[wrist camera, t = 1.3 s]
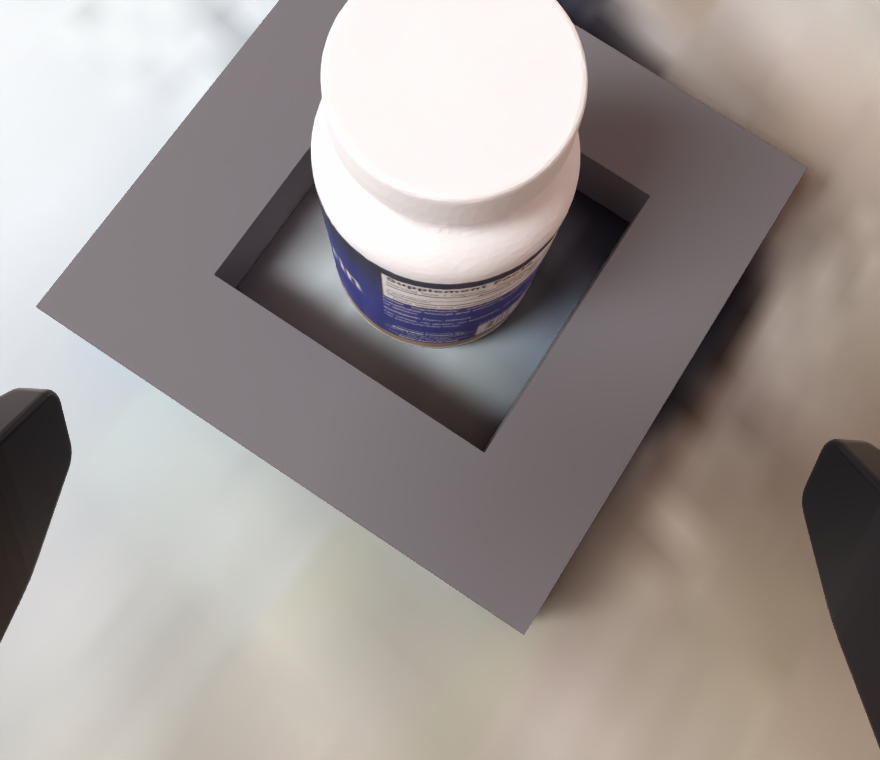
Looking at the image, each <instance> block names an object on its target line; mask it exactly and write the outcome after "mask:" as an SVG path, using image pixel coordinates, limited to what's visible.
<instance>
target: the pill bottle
mask: <svg viewBox="0 0 880 760" xmlns="http://www.w3.org/2000/svg"><path fill="white" fill-rule="evenodd" d="M587 90H588V74H587V65H586V59H585V54H584V50H583V47H582V43H581V41H580V38H579V36H578V33H577V31H576V29H575V27H574V25H573V23H572V22H571V20H570V18H569V16H568V15H567V13H566V12H565V11H564V9H563V8H562V7H561V5H560V4H559V3H558V2H557V1H556V0H348V1H347V3H346V4H345V5H344V7H343V8H342V10H341V11H340V12H339V14H338V15H337V17H336V19H335V21H334V23H333V25H332V27H331V29H330V32H329V34H328V37H327V40H326V43H325V47H324V51H323V55H322V62H321V92H322V99H321V102H320V105H319V108H318V111H317V114H316V117H315V121H314V126H313V131H312V140H311V162H312V171H313V177H314V183H315V187H316V191H317V195H318V199H319V202H320V205H321V209H322V213H323V217H324V220H325V224H326V228H327V232H328V235H329V239H330V243H331V247H332V251H333V255H334V259H335V262H336V267H337V270H338V274H339V277H340V280H341V283H342V286H343V288H344V290H345V293H346V294H347V296H348V298H349V300H350V302H351V303H352V305H353V306H354V308H355V309H356V311H357V312H358V313H359V314H360V315H361V316H362V317H363V318H364V319H365V320H366V321H367V322H368V323H369V324H370V325H372V326H373V327H374V328H376V329H377V330H378V331H380V332H382V333H383V334H385V335H387V336H388V337H390V338H392V339H395V340H397V341H400V342H402V343H406V344H409V345H413V346H418V347H423V348H447V347H454V346H459V345H463V344H466V343H469V342H472V341H474V340H477V339H479V338H481V337H483V336H485V335H487V334H488V333H490V332H492V331H493V330H494V329H496V328H497V327H498V326H499V325H501V324H502V323H503V322H504V321H505V320H506V319H507V318H508V317H509V316H510V315H511V313H512V312H513V311H514V310H515V308H516V307H517V306H518V304H519V303H520V301H521V300H522V298H523V297H524V295H525V293H526V291H527V289H528V288H529V286H530V284H531V282H532V280H533V278H534V276H535V274H536V272H537V270H538V268H539V266H540V265H541V262H542V260H543V259H544V257H545V255H546V253H547V251H548V249H549V247H550V245H551V243H552V242H553V240H554V238H555V236H556V234H557V232H558V230H559V229H560V226H561V224H562V223H563V221H564V219H565V217H566V215H567V213H568V210H569V208H570V205H571V203H572V200H573V197H574V194H575V191H576V187H577V182H578V177H579V171H580V141H579V134H578V129H579V126H580V123H581V120H582V117H583V114H584V110H585V105H586V100H587Z"/></svg>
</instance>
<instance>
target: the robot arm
mask: <svg viewBox="0 0 880 760" xmlns="http://www.w3.org/2000/svg"><path fill="white" fill-rule="evenodd" d="M71 454H72V451H71V443H70V438H69V434H68V430H67V426H66V422H65V418H64V414H63V410H62V406H61V402H60V399H59V397H58V396H57V394H56V393H55V392H53V391H52V390H48V389H33V388H17V389H14V390H11V391H9V392H8V393H6V394H4V395H2V396H0V642H1V640H2V638H3V636H4V634H5V632H6V630H7V628H8V626H9V624H10V622H11V619H12V617H13V615H14V613H15V611H16V609H17V607H18V605H19V603H20V601H21V599H22V597H23V594H24V592H25V590H26V588H27V585H28V583H29V581H30V579H31V576H32V573H33V571H34V568H35V565H36V563H37V560H38V557H39V554H40V551H41V549H42V546H43V543H44V540H45V537H46V534H47V531H48V528H49V525H50V522H51V519H52V516H53V513H54V511H55V508H56V505H57V502H58V499H59V496H60V493H61V490H62V487H63V484H64V481H65V478H66V475H67V472H68V470H69V466H70V462H71ZM802 507H803V513H804V517H805V521H806V524H807V528H808V532H809V536H810V540H811V544H812V548H813V552H814V556H815V560H816V563H817V567H818V571H819V575H820V579H821V583H822V587H823V591H824V595H825V599H826V603H827V606H828V609H829V613H830V616H831V620H832V623H833V626H834V629H835V631H836V634H837V637H838V640H839V643H840V645H841V648H842V651H843V653H844V656H845V659H846V661H847V664H848V666H849V669H850V672H851V674H852V677H853V680H854V682H855V685H856V687H857V690H858V693H859V695H860V698H861V701H862V703H863V706H864V709H865V711H866V714H867V716H868V719H869V722H870V724H871V727H872V730H873V732H874V735H875V737H876V740H877V743H878V745H879V748H880V450H879V449H878V448H876V447H875V446H873V445H871V444H870V443H868V442H865V441H860V440H844V439H833V440H831V441H829V442H827V443H826V444H825V445H824V447H823V449H822V450H821V453H820V455H819V457H818V459H817V462H816V464H815V466H814V468H813V470H812V473H811V475H810V477H809V479H808V481H807V484H806V486H805V488H804V491H803V496H802Z"/></svg>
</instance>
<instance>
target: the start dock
mask: <svg viewBox="0 0 880 760" xmlns="http://www.w3.org/2000/svg"><path fill="white" fill-rule="evenodd" d="M347 1H348V0H279V1H278V3H277V4H276V5H275V6H274V8H273V9H272V10H271V11H270V13H269V14H268V15H267V16H266V18H265V19H264V20H263V21H262V23H261V24H260V25H259V26H258V28H257V29H256V30H255V32H254V33H253V34H252V35H251V37H250V38H249V39H248V40H247V42H246V43H245V44H244V45H243V47H242V48H241V49H240V50H239V52H238V53H237V54H236V55H235V57H234V58H233V59H232V60H231V62H230V63H229V64H228V66H227V67H226V68H225V69H224V71H223V72H222V73H221V74H220V76H219V77H218V78H217V79H216V81H215V82H214V83H213V84H212V86H211V87H210V88H209V89H208V91H207V92H206V93H205V94H204V96H203V97H202V98H201V99H200V101H199V102H198V103H197V105H196V106H195V107H194V108H193V110H192V111H191V112H190V113H189V115H188V116H187V117H186V118H185V120H184V121H183V122H182V123H181V125H180V126H179V127H178V128H177V130H176V131H175V132H174V133H173V135H172V136H171V137H170V138H169V140H168V141H167V142H166V144H165V145H164V146H163V147H162V149H161V150H160V151H159V152H158V154H157V155H156V156H155V157H154V159H153V160H152V161H151V162H150V164H149V165H148V166H147V167H146V169H145V170H144V171H143V172H142V174H141V175H140V176H139V177H138V179H137V180H136V181H135V183H134V184H133V185H132V186H131V188H130V189H129V190H128V191H127V193H126V194H125V195H124V196H123V198H122V199H121V200H120V201H119V203H118V204H117V205H116V206H115V208H114V209H113V210H112V211H111V213H110V214H109V215H108V216H107V218H106V219H105V220H104V222H103V223H102V224H101V225H100V227H99V228H98V229H97V230H96V232H95V233H94V234H93V235H92V237H91V238H90V239H89V240H88V242H87V243H86V244H85V245H84V247H83V248H82V249H81V250H80V252H79V253H78V254H77V256H76V257H75V258H74V259H73V261H72V262H71V263H70V264H69V266H68V267H67V268H66V269H65V271H64V272H63V273H62V274H61V276H60V277H59V278H58V279H57V281H56V282H55V283H54V284H53V286H52V287H51V288H50V289H49V291H48V292H47V293H46V295H45V296H44V297H43V298H42V300H41V301H40V302H39V303H38V305H37V306H36V307H37V308H38V309H40V310H41V311H43V312H44V313H46V314H47V315H49V316H50V317H52V318H53V319H55V320H56V321H58V322H59V323H61V324H62V325H64V326H65V327H67V328H68V329H69V330H71V331H72V332H74V333H75V334H77V335H78V336H80V337H81V338H83V339H84V340H86V341H87V342H89V343H90V344H92V345H93V346H95V347H96V348H98V349H99V350H101V351H102V352H104V353H105V354H107V355H108V356H110V357H111V358H113V359H114V360H116V361H117V362H119V363H120V364H122V365H123V366H125V367H126V368H128V369H129V370H131V371H132V372H133V373H135V374H136V375H138V376H139V377H141V378H142V379H144V380H145V381H147V382H148V383H150V384H151V385H153V386H154V387H156V388H157V389H159V390H160V391H162V392H163V393H165V394H166V395H168V396H169V397H171V398H172V399H174V400H175V401H177V402H178V403H180V404H181V405H183V406H184V407H186V408H187V409H189V410H190V411H192V412H193V413H194V414H196V415H197V416H199V417H200V418H202V419H203V420H205V421H206V422H208V423H209V424H211V425H212V426H214V427H215V428H217V429H218V430H220V431H221V432H223V433H224V434H226V435H227V436H229V437H230V438H232V439H233V440H235V441H236V442H238V443H239V444H241V445H242V446H244V447H245V448H247V449H248V450H250V451H251V452H253V453H254V454H255V455H257V456H258V457H260V458H261V459H263V460H264V461H266V462H267V463H269V464H270V465H272V466H273V467H275V468H276V469H278V470H279V471H281V472H282V473H284V474H285V475H287V476H288V477H290V478H291V479H293V480H294V481H296V482H297V483H299V484H300V485H302V486H303V487H305V488H306V489H308V490H309V491H311V492H312V493H314V494H315V495H317V496H318V497H319V498H321V499H322V500H324V501H325V502H327V503H328V504H330V505H331V506H333V507H334V508H336V509H337V510H339V511H340V512H342V513H343V514H345V515H346V516H348V517H349V518H351V519H352V520H354V521H355V522H357V523H358V524H360V525H361V526H363V527H364V528H366V529H367V530H369V531H370V532H372V533H373V534H375V535H376V536H378V537H379V538H380V539H382V540H383V541H385V542H386V543H388V544H389V545H391V546H392V547H394V548H395V549H397V550H398V551H400V552H401V553H403V554H404V555H406V556H407V557H409V558H410V559H412V560H413V561H415V562H416V563H418V564H419V565H421V566H422V567H424V568H425V569H427V570H428V571H430V572H431V573H433V574H434V575H436V576H437V577H439V578H440V579H442V580H443V581H444V582H446V583H447V584H449V585H450V586H452V587H453V588H455V589H456V590H458V591H459V592H461V593H462V594H464V595H465V596H467V597H468V598H470V599H471V600H473V601H474V602H476V603H477V604H479V605H480V606H482V607H483V608H485V609H486V610H488V611H489V612H491V613H492V614H494V615H495V616H497V617H498V618H500V619H501V620H503V621H504V622H505V623H507V624H508V625H510V626H511V627H513V628H514V629H516V630H517V631H519V632H520V633H522V634H523V635H524V634H525V633H526V631H527V629H528V628H529V626H530V624H531V623H532V621H533V620H534V618H535V616H536V615H537V613H538V611H539V610H540V608H541V606H542V605H543V603H544V601H545V600H546V598H547V596H548V595H549V593H550V591H551V590H552V588H553V586H554V585H555V583H556V582H557V580H558V578H559V577H560V575H561V573H562V572H563V570H564V568H565V567H566V565H567V563H568V562H569V560H570V558H571V557H572V555H573V553H574V552H575V550H576V548H577V547H578V545H579V544H580V542H581V540H582V539H583V537H584V535H585V534H586V532H587V530H588V529H589V527H590V525H591V524H592V522H593V520H594V519H595V517H596V515H597V514H598V512H599V510H600V509H601V507H602V505H603V504H604V502H605V501H606V499H607V497H608V496H609V494H610V492H611V491H612V489H613V487H614V486H615V484H616V482H617V481H618V479H619V477H620V476H621V474H622V472H623V471H624V469H625V467H626V466H627V464H628V463H629V461H630V459H631V458H632V456H633V454H634V453H635V451H636V449H637V448H638V446H639V444H640V443H641V441H642V439H643V438H644V436H645V434H646V433H647V431H648V429H649V428H650V426H651V425H652V423H653V421H654V420H655V418H656V416H657V415H658V413H659V411H660V410H661V408H662V406H663V405H664V403H665V401H666V400H667V398H668V396H669V395H670V393H671V391H672V390H673V388H674V387H675V385H676V383H677V382H678V380H679V378H680V377H681V375H682V373H683V372H684V370H685V368H686V367H687V365H688V363H689V362H690V360H691V358H692V357H693V355H694V353H695V352H696V350H697V348H698V347H699V345H700V344H701V342H702V340H703V339H704V337H705V335H706V334H707V332H708V330H709V329H710V327H711V325H712V324H713V322H714V320H715V319H716V317H717V315H718V314H719V312H720V310H721V309H722V307H723V306H724V304H725V302H726V301H727V299H728V297H729V296H730V294H731V292H732V291H733V289H734V287H735V286H736V284H737V282H738V281H739V279H740V277H741V276H742V274H743V272H744V271H745V269H746V268H747V266H748V264H749V263H750V261H751V259H752V258H753V256H754V254H755V253H756V251H757V249H758V248H759V246H760V244H761V243H762V241H763V239H764V238H765V236H766V234H767V233H768V231H769V230H770V228H771V226H772V225H773V223H774V221H775V220H776V218H777V216H778V215H779V213H780V211H781V210H782V208H783V206H784V205H785V203H786V201H787V200H788V198H789V196H790V195H791V193H792V191H793V190H794V188H795V187H796V185H797V183H798V182H799V180H800V178H801V177H802V175H803V173H804V172H805V170H806V168H807V167H805V166H804V165H802V164H800V163H799V162H797V161H796V160H794V159H792V158H791V157H789V156H787V155H786V154H784V153H783V152H781V151H779V150H778V149H776V148H774V147H773V146H771V145H770V144H768V143H766V142H765V141H763V140H761V139H760V138H758V137H757V136H755V135H753V134H752V133H750V132H748V131H747V130H745V129H744V128H742V127H740V126H739V125H737V124H735V123H734V122H732V121H731V120H729V119H727V118H726V117H724V116H722V115H721V114H719V113H718V112H716V111H714V110H713V109H711V108H709V107H708V106H706V105H705V104H703V103H701V102H700V101H698V100H696V99H695V98H693V97H692V96H690V95H688V94H687V93H685V92H683V91H682V90H680V89H679V88H677V87H675V86H674V85H672V84H670V83H669V82H667V81H666V80H664V79H662V78H661V77H659V76H657V75H656V74H654V73H653V72H651V71H649V70H648V69H646V68H645V67H643V66H641V65H640V64H638V63H636V62H635V61H633V60H632V59H630V58H628V57H627V56H625V55H623V54H622V53H620V52H619V51H617V50H615V49H614V48H612V47H610V46H609V45H607V44H606V43H604V42H602V41H601V40H599V39H597V38H596V37H594V36H593V35H591V34H589V33H588V32H586V31H584V30H583V29H581V28H580V27H578V26H576V25H575V24H573V25H574V27H575V29H576V31H577V33H578V36H579V38H580V41H581V43H582V47H583V50H584V54H585V59H586V65H587V74H588V90H587V100H586V105H585V110H584V114H583V117H582V120H581V123H580V126H579V129H578V134H579V141H580V171H579V177H578V182H577V187H576V189H577V190H578V191H580V192H582V193H583V194H585V195H586V196H588V197H590V198H591V199H593V200H594V201H596V202H598V203H599V204H601V205H602V206H604V207H605V208H607V209H609V210H610V211H612V212H613V213H615V214H617V215H618V216H620V217H621V218H623V219H624V220H626V221H628V222H629V225H628V227H627V228H626V230H625V231H624V233H623V234H622V236H621V237H620V239H619V241H618V242H617V244H616V245H615V247H614V248H613V250H612V251H611V253H610V254H609V256H608V258H607V259H606V261H605V262H604V264H603V265H602V267H601V268H600V270H599V271H598V273H597V275H596V276H595V278H594V279H593V281H592V282H591V284H590V285H589V287H588V289H587V290H586V292H585V293H584V295H583V296H582V298H581V299H580V301H579V302H578V304H577V306H576V307H575V309H574V310H573V312H572V313H571V315H570V316H569V318H568V320H567V321H566V323H565V324H564V326H563V327H562V329H561V330H560V332H559V333H558V335H557V337H556V338H555V340H554V341H553V343H552V344H551V346H550V347H549V349H548V350H547V352H546V354H545V355H544V357H543V358H542V360H541V361H540V363H539V364H538V366H537V368H536V369H535V371H534V372H533V374H532V375H531V377H530V378H529V380H528V381H527V383H526V385H525V386H524V388H523V389H522V391H521V392H520V394H519V395H518V397H517V398H516V400H515V402H514V403H513V405H512V406H511V408H510V409H509V411H508V412H507V414H506V416H505V417H504V419H503V420H502V422H501V423H500V425H499V426H498V428H497V429H496V431H495V433H494V434H493V436H492V437H491V439H490V440H489V442H488V443H487V445H486V447H485V448H484V450H483V451H481V450H479V449H478V448H476V447H475V446H473V445H472V444H470V443H469V442H467V441H466V440H464V439H463V438H461V437H460V436H458V435H457V434H455V433H454V432H452V431H451V430H449V429H448V428H446V427H444V426H443V425H441V424H440V423H438V422H437V421H435V420H434V419H432V418H431V417H429V416H428V415H426V414H425V413H423V412H422V411H420V410H419V409H417V408H416V407H414V406H413V405H411V404H410V403H408V402H407V401H405V400H403V399H402V398H400V397H399V396H397V395H396V394H394V393H393V392H391V391H390V390H388V389H387V388H385V387H384V386H382V385H381V384H379V383H378V382H376V381H375V380H373V379H372V378H370V377H369V376H367V375H366V374H364V373H362V372H361V371H359V370H358V369H356V368H355V367H353V366H352V365H350V364H349V363H347V362H346V361H344V360H343V359H341V358H340V357H338V356H337V355H335V354H334V353H332V352H331V351H329V350H328V349H326V348H324V347H323V346H321V345H320V344H318V343H317V342H315V341H314V340H312V339H311V338H309V337H308V336H306V335H305V334H303V333H302V332H300V331H299V330H297V329H296V328H294V327H293V326H291V325H290V324H288V323H287V322H285V321H283V320H282V319H280V318H279V317H277V316H276V315H274V314H273V313H271V312H270V311H268V310H267V309H265V308H264V307H262V306H261V305H259V304H258V303H256V302H255V301H253V300H252V299H250V298H249V297H247V296H246V295H244V294H242V293H241V292H239V291H238V290H236V287H237V286H238V285H239V283H240V282H241V281H242V279H243V278H244V276H245V275H246V274H247V272H248V271H249V270H250V268H251V267H252V266H253V264H254V263H255V262H256V260H257V259H258V258H259V256H260V255H261V254H262V252H263V251H264V250H265V248H266V247H267V246H268V244H269V243H270V242H271V240H272V239H273V237H274V236H275V235H276V233H277V232H278V231H279V229H280V228H281V227H282V225H283V224H284V223H285V221H286V220H287V219H288V217H289V216H290V215H291V213H292V212H293V211H294V209H295V208H296V207H297V205H298V204H299V202H300V201H301V200H302V198H303V197H304V196H305V194H306V193H307V192H308V190H309V189H310V188H311V186H312V185H313V184H314V177H313V171H312V162H311V140H312V131H313V126H314V121H315V117H316V114H317V111H318V108H319V105H320V102H321V99H322V92H321V62H322V55H323V51H324V47H325V43H326V40H327V37H328V34H329V32H330V29H331V27H332V25H333V23H334V21H335V19H336V17H337V15H338V14H339V12H340V11H341V10H342V8H343V7H344V5H345V4H346V3H347Z"/></svg>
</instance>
